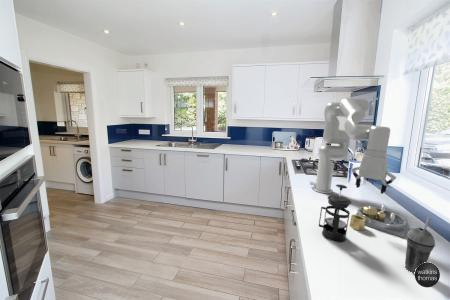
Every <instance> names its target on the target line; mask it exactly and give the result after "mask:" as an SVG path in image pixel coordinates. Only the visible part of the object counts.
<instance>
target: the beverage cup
mask: <svg viewBox="0 0 450 300" xmlns="http://www.w3.org/2000/svg"><path fill="white" fill-rule="evenodd" d="M430 219H431V216H427V219H426V221H425V225H424V227H414V228H412V229H410V230H409V231H408V232H407V234H406V252H405V259H404V260H405V262H404V269H405V268H406V269H405V270H406V271H407V270H408V272H409V271H410V272H412V273H413V275H415V274H414V272H415V269H416V268H417V267H418V266H419V265H420V264H422V263H424V262H428V261H429V258H430V257H431V256H430V255H431V253H432V251H433V250H434V247H435V246H436V240H435V238H434V235H433V234H432V232H430V231H429V230H427V227H428V225H429V221H430ZM410 272H409V273H410ZM412 273H411V274H412Z"/></svg>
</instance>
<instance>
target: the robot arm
mask: <svg viewBox="0 0 450 300" xmlns="http://www.w3.org/2000/svg"><path fill="white" fill-rule="evenodd" d="M369 108H370V102H369V101H368V100H367V99H366V98H361V97H345V98H343V99H341V100H340V102H328V103H327V104H325V107H324V112H323V115H324V129H323V135H322V140H323V142H324V143H326V144H325V145H321V146H320V147H319V148H318V164H317V171H316V173H317V174H316V181H309V185H311V186H312V190H313V191H315V192H317V193H321V194H327V195H328V194H332V193H333V189H332V180H333V175H334V174H333V173H334V169H335V168H334V164H333V163H332V161H344V160H346V158H347V157H348V151H349V147H350V146H349V145H350V141H351V140H354V141H367V144H366V149H362V153H364V155H363V156H362V158H361V160H360V161H361V162H360V165H359V166H356V167H353V168H351V173H352V175H353V176H354V177H355V186H356V188H360V187H361V182H362V178H364V179H365V178H366V179H371V180H374V181H380V182H381V183H382V185H381V189H380V194H381V195H383V194H384V193H386V191H387V185H390V184H392V183H393V182H394V181H395V180H396V179H397V176H395V175H394V174H392V173H391V172H389V171H388V158H387V151H388V147H389V143H390V142H389V139H390V134H391V128H390V127H387V126H381V125H372V124H359V123H361V122H362V121H363V120H364V119H365V117H366V113H367V112H368V111H369ZM338 117H340V118H341V117H342V118H343V117H344V118H345V121H344V125H343V126H344V129H340V120H339V118H338ZM350 139H351V140H350ZM328 144H329V145H328ZM330 144H331V145H330ZM357 171H358V173H357ZM387 176H388V177H389V178H390V179H388V180H387V179H386V178H387Z"/></svg>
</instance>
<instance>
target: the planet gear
mask: <svg viewBox="0 0 450 300" xmlns="http://www.w3.org/2000/svg"><path fill="white" fill-rule="evenodd" d="M365 221H366V219H365V218H364V217H362V216H359V215H356V214H351V216H350V222H349V227H350V228H351V229H353V230H356V231H364V230H365V227H366V225H365Z"/></svg>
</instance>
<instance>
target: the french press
mask: <svg viewBox="0 0 450 300" xmlns="http://www.w3.org/2000/svg"><path fill="white" fill-rule="evenodd" d="M335 187H336V188H339V195H334V194H333V195H332V194H331V195H328V196H327V200H328V201H327V203H328V204H329V205H327V206H321V207H320V214H319V219H318V221H319V222H318V227H320V228H321V229H322V231H321V234H322V236H323V238H326V239H327V240H329V241H331V242H335V243H344V242H346V240H347V231H348V225H349V218H350V211H349V210H348V209H347V208H348V207H349V206H350V205H351V204H352V200H351V199H349V198H347V197H344V196H342V195H341V194H342V191H343V189H348V187H347V186H346V185H345V184H335ZM330 209H331V210H333V209H334V212H332V211H330ZM322 210H325V212H324V220H323V224H321V219H322ZM340 211H342V212H343V213H346V214H340ZM327 214H328V215H329V216H332V217H326V215H327ZM342 219H347V220H346V222H345V221H343V220H342Z"/></svg>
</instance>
